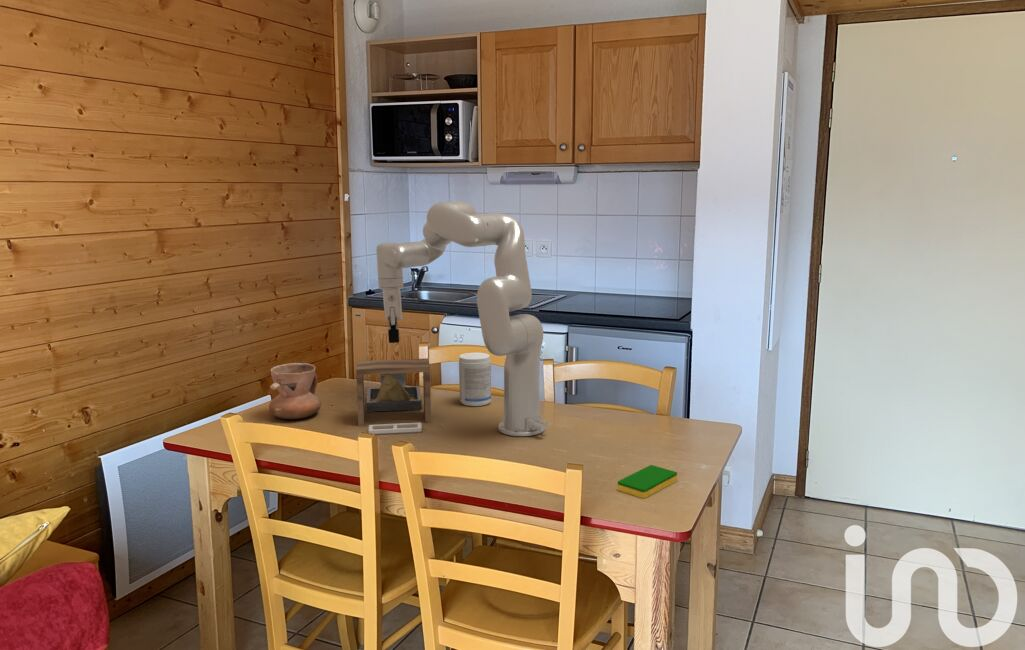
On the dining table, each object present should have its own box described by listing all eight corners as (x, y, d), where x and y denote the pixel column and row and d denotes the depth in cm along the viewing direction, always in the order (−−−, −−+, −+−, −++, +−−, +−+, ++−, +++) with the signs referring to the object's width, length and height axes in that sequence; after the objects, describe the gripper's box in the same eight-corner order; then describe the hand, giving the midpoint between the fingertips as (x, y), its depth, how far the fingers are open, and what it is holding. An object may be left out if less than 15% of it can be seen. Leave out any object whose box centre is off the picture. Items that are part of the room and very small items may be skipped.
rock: (422, 398, 233) (396, 389, 238) (413, 380, 227) (386, 371, 232) (402, 426, 228) (376, 416, 232) (393, 409, 222) (366, 399, 226)
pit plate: (421, 432, 209) (421, 428, 209) (368, 435, 207) (368, 430, 207) (420, 426, 214) (420, 422, 214) (369, 429, 212) (369, 425, 212)
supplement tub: (497, 402, 237) (497, 355, 234) (474, 409, 230) (474, 360, 228) (476, 396, 244) (475, 350, 241) (453, 402, 237) (452, 355, 234)
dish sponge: (677, 482, 177) (678, 472, 176) (643, 500, 167) (644, 490, 166) (650, 474, 181) (651, 464, 181) (616, 491, 171) (616, 481, 171)
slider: (421, 409, 229) (421, 378, 228) (366, 411, 227) (365, 381, 225) (418, 386, 253) (417, 359, 251) (368, 389, 251) (367, 361, 249)
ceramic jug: (294, 427, 214) (291, 377, 211) (255, 420, 220) (252, 371, 217) (337, 410, 229) (335, 363, 226) (299, 403, 236) (297, 358, 233)
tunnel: (431, 422, 218) (429, 366, 215) (358, 425, 215) (356, 369, 212) (429, 411, 228) (428, 358, 225) (359, 415, 225) (357, 361, 222)
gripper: (403, 285, 232) (406, 346, 235) (402, 280, 246) (405, 337, 249) (378, 286, 230) (381, 347, 233) (378, 281, 245) (381, 338, 248)
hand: (394, 342), depth 241 cm, fingers closed
